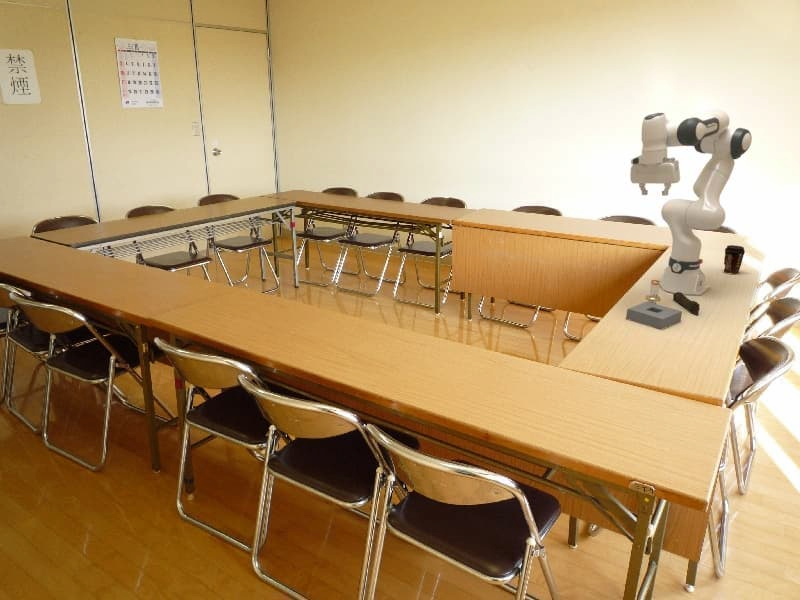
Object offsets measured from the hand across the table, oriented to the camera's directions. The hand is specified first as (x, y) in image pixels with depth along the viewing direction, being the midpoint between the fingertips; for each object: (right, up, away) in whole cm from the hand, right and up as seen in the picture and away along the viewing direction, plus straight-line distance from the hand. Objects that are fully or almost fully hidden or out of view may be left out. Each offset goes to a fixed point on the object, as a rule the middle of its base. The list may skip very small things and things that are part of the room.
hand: (654, 195), depth 224 cm
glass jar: (+3, -43, +10) cm, 44 cm away
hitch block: (-2, -48, -4) cm, 48 cm away
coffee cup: (+63, -27, +60) cm, 91 cm away
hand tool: (+18, -44, +10) cm, 48 cm away
